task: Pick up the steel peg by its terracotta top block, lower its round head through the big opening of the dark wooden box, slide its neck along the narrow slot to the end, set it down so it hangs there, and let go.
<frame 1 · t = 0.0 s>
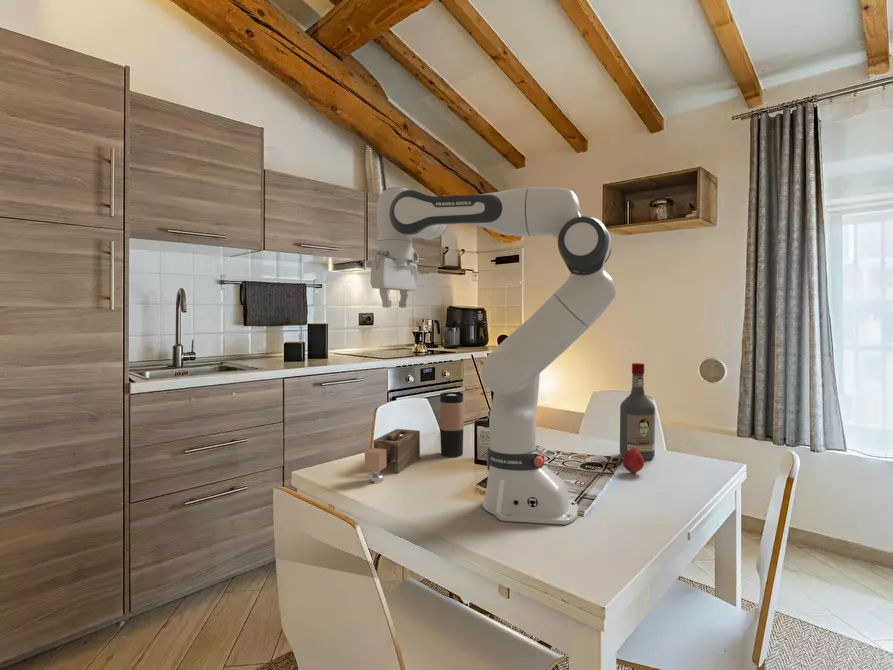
hand: (395, 307, 134), 48 cm above the table, tool pointing down, fingers open, 8 cm apart
onion: (632, 474, 150), on the table
liquor: (636, 457, 167), on the table
keyed peg: (375, 480, 145), on the table
travel mug: (451, 454, 171), on the table
dark wooden box: (397, 464, 160), on the table
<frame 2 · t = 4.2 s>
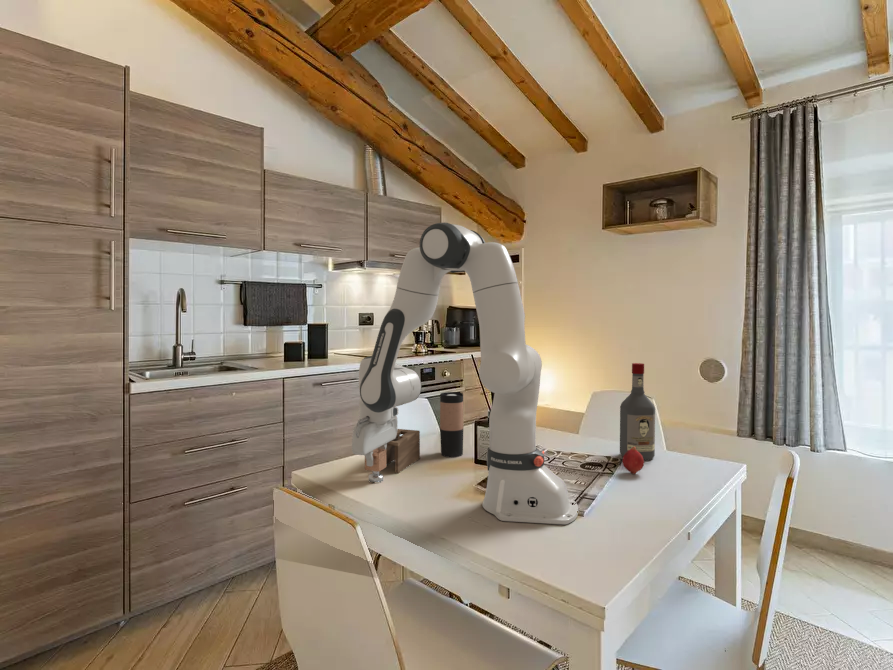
hand: (375, 462, 145), 5 cm above the table, tool pointing down, fingers closed on keyed peg, 4 cm apart
keyed peg: (375, 480, 145), on the table, touching gripper
everything else where it was.
when the fingers open (11 cm above the table, at t = 11.5 s): keyed peg stays where it is, resting on dark wooden box.
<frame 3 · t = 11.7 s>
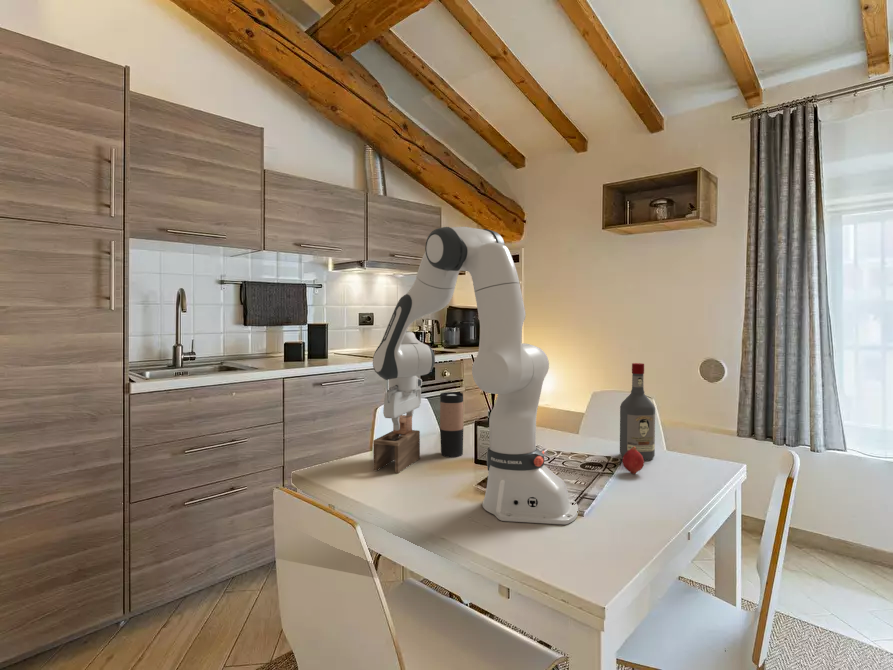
hand: (402, 427, 163), 11 cm above the table, tool pointing down, fingers open, 7 cm apart
keyed peg: (402, 443, 164), point 5 cm above the table, touching dark wooden box
everything else where it was.
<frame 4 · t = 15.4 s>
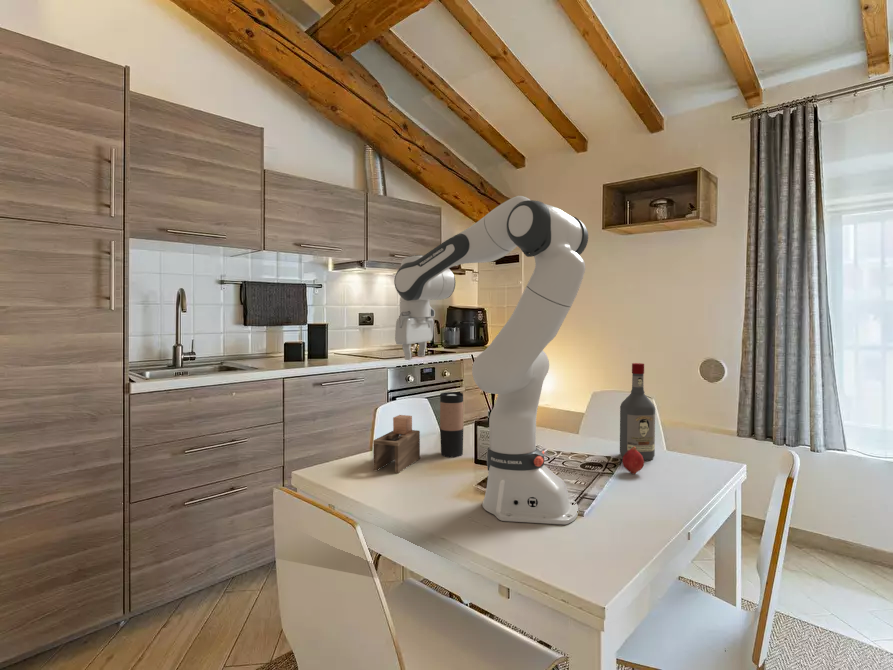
hand: (415, 358, 154), 33 cm above the table, tool pointing down, fingers open, 8 cm apart
nothing on the table moved.
at the end: keyed peg 0.0 cm from the target spot on the dark wooden box, point 5.5 cm above the dark wooden box's base; the gripper is holding nothing; keyed peg tilted 0° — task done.
